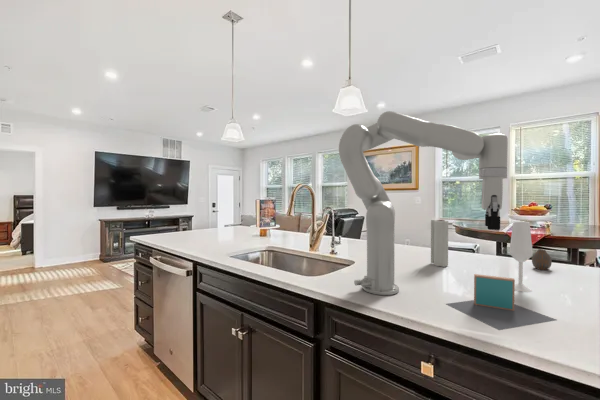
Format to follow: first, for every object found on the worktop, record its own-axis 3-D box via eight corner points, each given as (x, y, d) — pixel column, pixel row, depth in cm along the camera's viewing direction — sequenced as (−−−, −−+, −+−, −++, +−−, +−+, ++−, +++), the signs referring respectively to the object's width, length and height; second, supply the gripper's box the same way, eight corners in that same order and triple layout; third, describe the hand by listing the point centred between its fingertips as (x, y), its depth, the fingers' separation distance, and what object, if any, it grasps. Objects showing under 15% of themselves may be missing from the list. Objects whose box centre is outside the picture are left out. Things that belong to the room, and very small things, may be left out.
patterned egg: (550, 268, 135) (550, 248, 134) (552, 271, 129) (553, 251, 129) (530, 266, 138) (531, 247, 138) (532, 269, 133) (532, 249, 132)
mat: (499, 331, 74) (499, 329, 74) (445, 305, 91) (445, 303, 91) (557, 321, 80) (557, 319, 80) (496, 298, 97) (496, 297, 97)
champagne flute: (536, 292, 103) (537, 223, 102) (515, 291, 104) (516, 222, 103) (525, 286, 109) (526, 221, 109) (505, 285, 110) (505, 221, 110)
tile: (474, 304, 90) (474, 275, 90) (474, 302, 92) (474, 274, 92) (514, 311, 86) (514, 280, 85) (513, 308, 87) (513, 278, 87)
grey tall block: (450, 266, 138) (450, 220, 137) (437, 267, 138) (437, 220, 137) (443, 263, 145) (443, 219, 144) (430, 263, 145) (430, 219, 145)
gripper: (477, 175, 104) (477, 224, 104) (480, 173, 89) (480, 230, 89) (503, 175, 100) (502, 225, 101) (511, 172, 85) (510, 231, 86)
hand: (492, 227), depth 95 cm, fingers open, 9 cm apart
